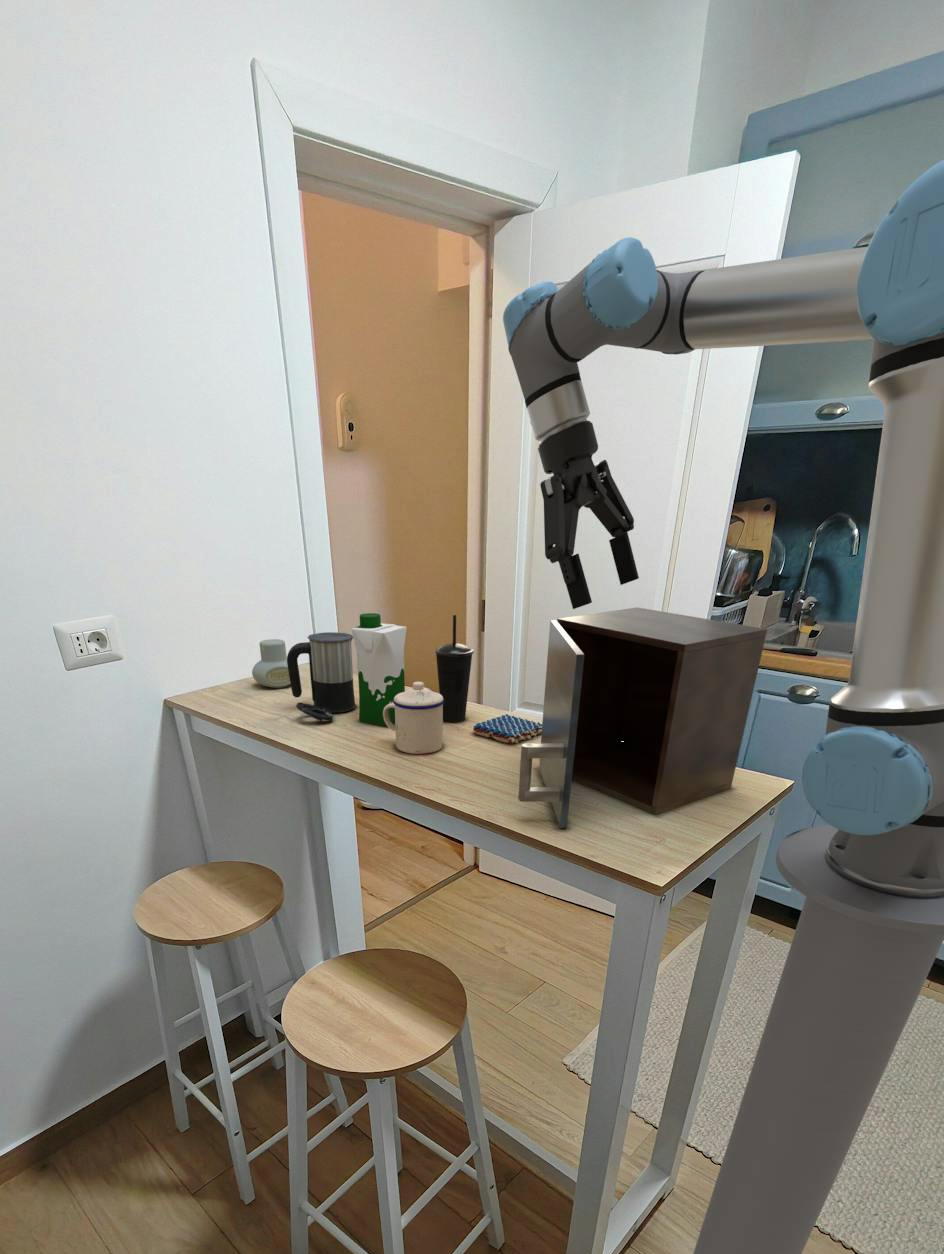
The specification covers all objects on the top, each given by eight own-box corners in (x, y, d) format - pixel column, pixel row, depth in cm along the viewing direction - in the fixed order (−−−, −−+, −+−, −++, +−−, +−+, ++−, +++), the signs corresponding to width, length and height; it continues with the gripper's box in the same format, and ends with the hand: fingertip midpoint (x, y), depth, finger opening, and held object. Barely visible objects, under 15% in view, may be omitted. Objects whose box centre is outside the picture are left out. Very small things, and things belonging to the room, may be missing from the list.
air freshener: (258, 691, 165) (252, 646, 159) (250, 683, 171) (244, 640, 166) (304, 686, 168) (299, 642, 163) (294, 678, 175) (290, 636, 170)
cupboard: (655, 815, 104) (685, 644, 92) (544, 768, 121) (557, 618, 109) (731, 788, 113) (767, 629, 100) (617, 747, 130) (637, 607, 117)
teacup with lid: (452, 743, 132) (452, 679, 126) (429, 758, 126) (428, 691, 120) (397, 734, 137) (395, 672, 131) (372, 748, 131) (368, 683, 124)
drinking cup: (478, 716, 147) (481, 613, 136) (462, 726, 141) (464, 620, 131) (445, 711, 150) (445, 610, 139) (428, 721, 144) (427, 616, 134)
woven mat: (546, 733, 137) (547, 723, 136) (511, 746, 131) (512, 735, 130) (505, 722, 143) (506, 712, 142) (470, 734, 137) (470, 723, 136)
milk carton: (378, 711, 151) (373, 610, 140) (413, 718, 146) (411, 614, 136) (352, 721, 144) (345, 617, 134) (388, 729, 140) (384, 621, 130)
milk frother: (350, 700, 158) (346, 630, 150) (370, 719, 145) (366, 644, 138) (287, 707, 154) (279, 635, 146) (302, 727, 141) (294, 650, 133)
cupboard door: (518, 828, 100) (530, 654, 88) (504, 768, 121) (512, 620, 108) (566, 828, 100) (584, 654, 88) (544, 768, 121) (556, 620, 108)
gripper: (588, 432, 104) (626, 580, 112) (487, 457, 90) (538, 624, 98) (633, 407, 99) (669, 564, 107) (532, 429, 85) (583, 609, 92)
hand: (607, 593), depth 102 cm, fingers open, 13 cm apart
